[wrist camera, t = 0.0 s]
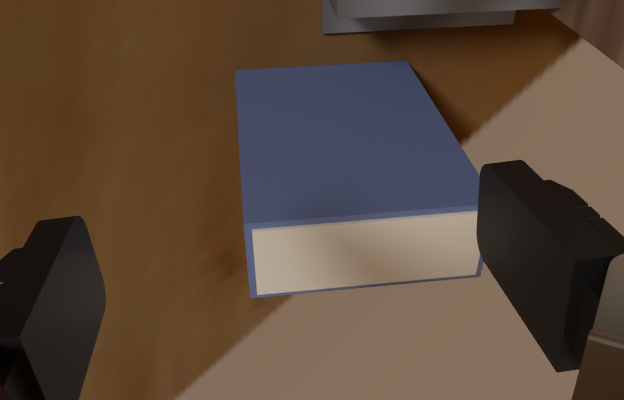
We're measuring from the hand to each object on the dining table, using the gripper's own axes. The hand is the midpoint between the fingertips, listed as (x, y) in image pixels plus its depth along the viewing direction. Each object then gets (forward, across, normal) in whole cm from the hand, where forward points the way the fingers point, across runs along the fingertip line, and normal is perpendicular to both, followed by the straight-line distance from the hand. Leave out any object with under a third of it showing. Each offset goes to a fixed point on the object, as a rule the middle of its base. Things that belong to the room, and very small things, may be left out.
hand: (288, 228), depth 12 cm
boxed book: (+23, -3, +6) cm, 24 cm away
